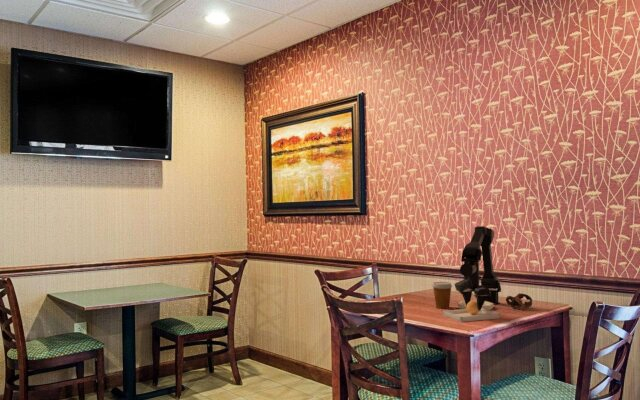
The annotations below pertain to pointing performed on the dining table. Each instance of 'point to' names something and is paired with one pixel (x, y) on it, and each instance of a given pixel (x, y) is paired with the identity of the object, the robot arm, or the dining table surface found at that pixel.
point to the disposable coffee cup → (442, 294)
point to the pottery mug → (519, 301)
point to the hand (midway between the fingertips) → (473, 308)
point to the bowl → (485, 306)
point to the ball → (472, 307)
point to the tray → (471, 315)
